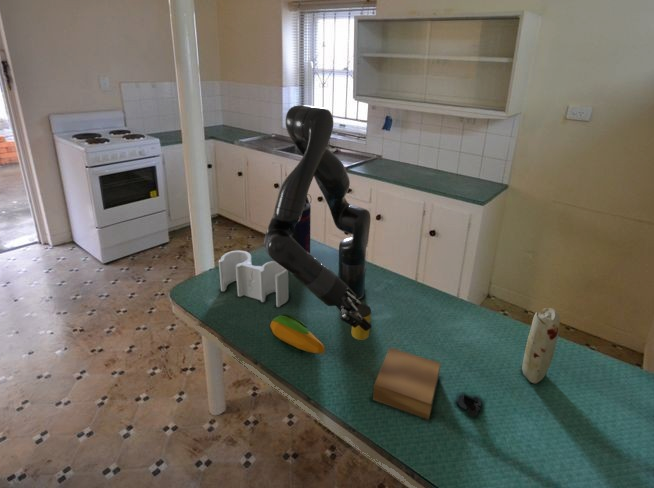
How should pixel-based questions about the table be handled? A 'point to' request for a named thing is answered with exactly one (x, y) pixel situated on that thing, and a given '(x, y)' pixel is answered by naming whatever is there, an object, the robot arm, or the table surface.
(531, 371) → the food model
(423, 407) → the wood block
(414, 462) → the table surface
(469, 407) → the block figure
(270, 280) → the bracket
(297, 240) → the navy water bottle
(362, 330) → the tin
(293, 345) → the corn
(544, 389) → the table surface
